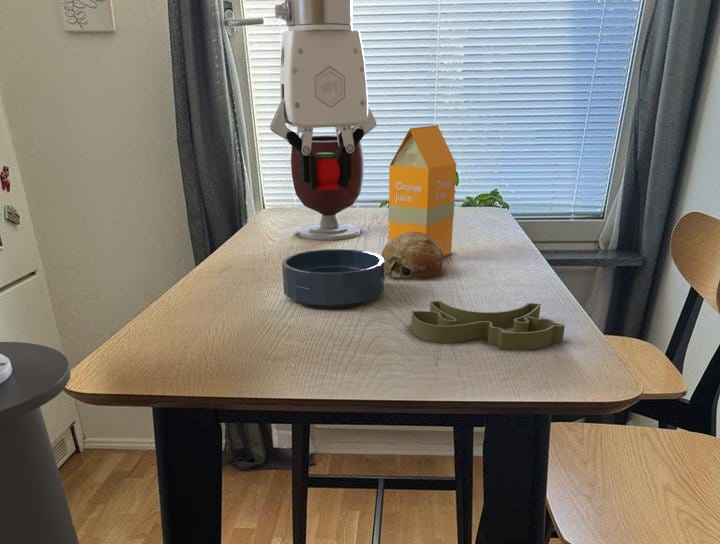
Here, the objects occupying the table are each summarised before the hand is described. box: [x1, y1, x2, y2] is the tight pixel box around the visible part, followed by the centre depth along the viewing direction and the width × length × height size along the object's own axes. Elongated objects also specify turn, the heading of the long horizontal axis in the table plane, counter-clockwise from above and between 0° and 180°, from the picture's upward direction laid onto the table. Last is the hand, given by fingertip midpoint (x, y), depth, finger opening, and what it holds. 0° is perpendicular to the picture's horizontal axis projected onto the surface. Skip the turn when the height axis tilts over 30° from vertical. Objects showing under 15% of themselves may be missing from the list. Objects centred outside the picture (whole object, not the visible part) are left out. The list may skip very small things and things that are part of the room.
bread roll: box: [381, 231, 444, 280], centre depth 106 cm, size 10×10×8 cm
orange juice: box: [388, 124, 457, 257], centre depth 112 cm, size 8×9×20 cm
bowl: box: [281, 248, 385, 309], centre depth 95 cm, size 14×14×5 cm
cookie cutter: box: [410, 300, 566, 351], centre depth 82 cm, size 18×12×2 cm, turn 83°
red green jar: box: [316, 152, 341, 190], centre depth 86 cm, size 4×4×4 cm
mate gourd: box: [290, 125, 365, 241], centre depth 129 cm, size 16×14×20 cm
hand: (326, 185), depth 87 cm, fingers closed on red green jar, 3 cm apart
